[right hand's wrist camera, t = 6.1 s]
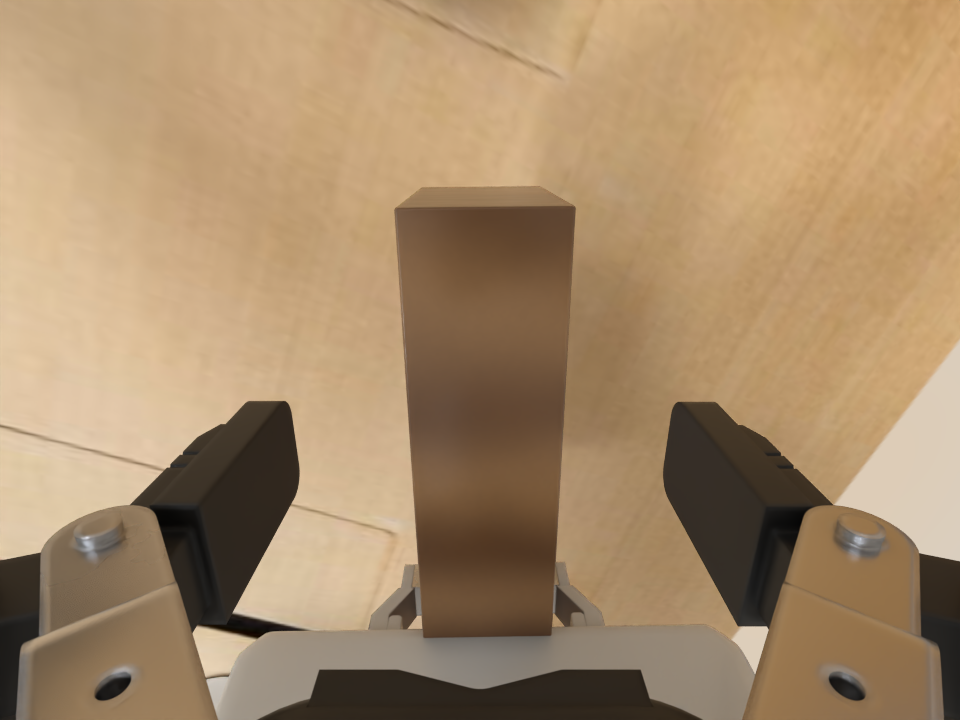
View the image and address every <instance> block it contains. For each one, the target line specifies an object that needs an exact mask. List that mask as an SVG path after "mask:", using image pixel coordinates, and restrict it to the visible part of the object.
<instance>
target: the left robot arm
mask: <svg viewBox="0 0 960 720" xmlns="http://www.w3.org/2000/svg"><path fill="white" fill-rule="evenodd" d="M553 613H555V615H556V616H557V617H558V618H559V620H560V621H561V622H562V623H563V624H564V626H565V627H552V635H551V636H512V637H454V638H423V629H408V627H409V626H410V625H411V623H412V622H413V621H414V619H415V618H416V616H420V615H422V612H421V598H420V583H419V568H418V564H415V565H405V567H404V573H403V579H402V585H401V588H398V589H397V590H396V591H395V592H394V593H393V594H392V595H391V596H390V597H389V598H388V599H387V600H386V601H385V602H384V603H383V604H382V605H381V606H380V607H379V608H378V609H377V610H376V611H375V612H374V613H373V614H372V615H371V620H370V624H369V629H368V630H340V631H277V632H269V633H266V634H264V635H263V636H261V637H260V638H259V639H257V640H256V641H255V642H253V643H252V644H251V645H249V646H248V647H247V648H246V649H244V650H243V651H242V652H241V653H240V654H239V655H238V657H237V659H236V661H235V663H234V665H233V667H232V670H231V672H230V675H229V677H216V678H210V679H206V681H207V684H208V688H209V691H210V694H211V698H212V701H213V704H214V708H215V711H216V714H217V718H218V720H257V719H259V718H261V717H263V716H265V715H267V714H269V713H272V712H274V711H276V710H278V709H280V708H283V707H285V706H288V705H291V704H294V703H296V702H299V701H303V700H306V699H310V698H311V694H312V691H313V688H314V685H315V682H316V678H317V675H318V672H319V669H398V670H402V671H406V672H410V673H414V674H418V675H422V676H426V677H430V678H434V679H438V680H442V681H446V682H450V683H454V684H458V685H461V686H465V687H469V688H475V689H485V688H491V687H495V686H499V685H502V684H506V683H510V682H514V681H518V680H522V679H526V678H530V677H534V676H538V675H542V674H546V673H550V672H554V671H558V670H562V669H641V672H642V675H643V678H644V682H645V685H646V688H647V691H648V694H649V698H650V699H654V700H657V701H661V702H664V703H666V704H669V705H672V706H675V707H677V708H680V709H682V710H684V711H686V712H688V713H691V714H693V715H695V716H697V717H699V718H701V719H703V720H742V718H743V714H744V711H745V708H746V704H747V701H748V698H749V694H750V691H751V688H752V684H753V681H754V678H755V674H754V672H753V670H752V668H751V666H750V664H749V662H748V660H747V659H746V657H745V655H744V653H743V652H742V650H741V649H740V648H739V646H738V645H737V644H736V643H735V642H733V641H732V640H730V639H729V638H728V637H726V636H725V635H723V634H722V633H720V632H719V631H717V630H716V629H714V628H712V627H710V626H708V625H704V624H690V625H638V626H605V624H604V620H603V617H602V613H601V611H600V610H599V609H598V608H597V607H596V606H594V605H593V604H592V603H591V602H590V601H589V600H588V599H587V598H586V597H585V596H584V595H583V594H581V593H580V592H579V591H578V590H577V589H576V588H575V587H574V586H573V585H570V583H569V579H568V574H567V570H566V565H565V563H564V562H556V564H555V582H554V600H553Z"/></svg>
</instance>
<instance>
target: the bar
mask: <svg viewBox="0 0 960 720" xmlns="http://www.w3.org/2000/svg"><path fill="white" fill-rule="evenodd" d="M575 209H576V208H575V206H573V205H571V204H570V203H568V202H566V201H564V200H563V199H561V198H559V197H558V196H556V195H554V194H552V193H551V192H549V191H547V190H545V189H544V188H542V187H540V186H522V187H426V188H421V189H419V190H418V191H417V192H416V193H414V194H413V195H412V196H410V197H409V198H408V199H407V200H405V201H404V202H403V203H401V204H400V205H399V206H398V207H396V208H395V210H394V211H395V225H396V240H397V255H398V270H399V285H400V300H401V315H402V330H403V344H404V359H405V374H406V389H407V404H408V419H409V434H410V449H411V464H412V478H413V493H414V508H415V523H416V538H417V553H418V568H419V583H420V598H421V612H422V627H423V638H454V637H512V636H551V635H552V618H553V600H554V582H555V564H556V547H557V529H558V511H559V493H560V476H561V458H562V440H563V422H564V404H565V387H566V369H567V351H568V333H569V316H570V298H571V280H572V262H573V244H574V227H575Z"/></svg>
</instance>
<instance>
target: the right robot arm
mask: <svg viewBox="0 0 960 720" xmlns="http://www.w3.org/2000/svg"><path fill="white" fill-rule="evenodd" d="M170 465H171V466H170V468H166V469H165V470H164V471H163V472H162V473H161V474H160V475H159V476H158V477H157V478H156V479H155V480H154V481H153V482H152V483H151V484H150V485H149V486H148V487H147V488H146V489H145V490H144V491H143V492H142V493H141V494H140V495H139V496H138V497H137V498H136V499H135V500H134V501H133V502H132V503H131V504H130V505H125V506H116V507H111V508H107V509H103V510H99V511H96V512H94V513H91V514H88V515H86V516H83V517H81V518H79V519H77V520H75V521H73V522H71V523H69V524H68V525H66V526H65V527H63V528H62V529H60V530H59V531H58V532H56V533H55V534H54V535H53V536H52V537H51V538H50V539H49V540H48V541H47V542H46V544H45V545H44V547H43V549H42V551H41V553H36V554H31V555H26V556H21V557H16V558H11V559H6V560H1V561H0V720H218V718H217V714H216V711H215V708H214V704H213V701H212V698H211V694H210V691H209V688H208V684H207V681H206V678H205V674H204V671H203V668H202V664H201V661H200V658H199V654H198V651H197V648H196V644H195V641H194V638H193V634H192V633H193V631H194V630H195V628H196V626H197V625H198V624H227V622H228V620H229V618H230V616H231V614H232V613H233V611H234V609H235V607H236V605H237V603H238V601H239V600H240V598H241V596H242V594H243V592H244V590H245V588H246V587H247V585H248V583H249V581H250V579H251V577H252V576H253V574H254V572H255V570H256V568H257V566H258V564H259V563H260V561H261V559H262V557H263V555H264V553H265V551H266V550H267V548H268V546H269V544H270V542H271V540H272V538H273V537H274V535H275V533H276V531H277V529H278V527H279V526H280V524H281V522H282V520H283V518H284V516H285V514H286V513H287V511H288V509H289V507H290V505H291V503H292V501H293V500H294V498H295V496H296V493H297V489H298V485H299V461H298V455H297V448H296V441H295V434H294V427H293V420H292V413H291V409H290V406H289V404H288V403H287V402H286V401H248V402H246V403H245V404H244V405H243V406H242V407H241V408H240V410H239V411H238V412H237V413H236V414H235V415H234V416H233V417H232V418H231V419H230V420H229V421H228V422H227V423H226V424H220V425H219V426H217V427H215V428H213V429H211V430H210V431H208V432H206V433H204V434H202V435H201V436H199V437H197V438H196V439H195V440H194V441H193V442H192V443H191V444H190V445H189V446H188V447H187V448H186V449H185V450H184V451H183V455H179V456H178V457H177V458H176V459H175V460H174V461H173V462H172V463H171V464H170ZM663 479H664V487H665V491H666V494H667V497H668V499H669V501H670V503H671V505H672V506H673V508H674V510H675V512H676V514H677V516H678V517H679V519H680V521H681V523H682V525H683V527H684V528H685V530H686V532H687V534H688V536H689V537H690V539H691V541H692V543H693V545H694V547H695V548H696V550H697V552H698V554H699V556H700V558H701V559H702V561H703V563H704V565H705V567H706V569H707V570H708V572H709V574H710V576H711V578H712V580H713V581H714V583H715V585H716V587H717V589H718V591H719V592H720V594H721V596H722V598H723V600H724V602H725V603H726V605H727V607H728V609H729V611H730V612H731V614H732V616H733V618H734V620H735V622H736V623H737V625H738V626H767V627H768V629H769V631H768V634H767V638H766V641H765V644H764V648H763V651H762V654H761V658H760V661H759V664H758V668H757V671H756V674H755V678H754V681H753V684H752V688H751V691H750V694H749V698H748V701H747V704H746V708H745V711H744V714H743V718H742V720H960V561H955V560H950V559H945V558H940V557H935V556H930V555H925V554H920V553H919V551H918V549H917V547H916V545H915V544H914V542H913V541H912V540H911V539H910V538H909V537H908V536H907V535H906V534H905V533H904V532H902V531H901V530H900V529H898V528H897V527H895V526H894V525H892V524H891V523H889V522H887V521H885V520H883V519H881V518H879V517H877V516H874V515H872V514H869V513H866V512H864V511H860V510H857V509H853V508H849V507H843V506H835V505H833V504H832V503H831V502H830V501H829V500H828V499H827V498H826V497H825V496H824V495H823V494H822V493H821V492H820V491H819V490H818V489H817V488H816V487H815V486H814V485H813V484H812V483H811V482H810V481H809V480H808V479H807V478H806V477H805V476H804V475H802V474H801V473H800V472H799V471H798V470H797V469H794V468H793V465H792V464H791V463H790V462H789V461H788V460H787V459H786V458H785V457H784V456H781V453H780V452H779V451H778V450H777V449H776V448H775V447H774V446H773V445H772V444H771V443H770V442H769V441H768V440H767V439H766V438H765V437H763V436H761V435H759V434H758V433H756V432H754V431H752V430H750V429H749V428H747V427H745V426H743V425H737V424H736V423H735V422H734V421H733V420H732V418H731V417H730V416H729V415H728V414H727V413H726V412H725V411H724V410H723V409H722V408H721V407H720V406H719V405H718V404H717V403H715V402H677V403H676V404H675V405H674V407H673V410H672V414H671V420H670V427H669V434H668V440H667V447H666V454H665V461H664V468H663ZM257 720H703V719H701V718H699V717H697V716H695V715H693V714H691V713H688V712H686V711H684V710H682V709H680V708H677V707H675V706H672V705H669V704H666V703H664V702H661V701H657V700H654V699H650V698H649V694H648V691H647V688H646V685H645V682H644V678H643V675H642V672H641V669H562V670H558V671H554V672H550V673H546V674H542V675H538V676H534V677H530V678H526V679H522V680H518V681H514V682H510V683H506V684H502V685H499V686H495V687H491V688H485V689H475V688H469V687H465V686H461V685H458V684H454V683H450V682H446V681H442V680H438V679H434V678H430V677H426V676H422V675H418V674H414V673H410V672H406V671H402V670H398V669H319V672H318V675H317V678H316V682H315V685H314V688H313V691H312V694H311V698H310V699H306V700H303V701H299V702H296V703H294V704H291V705H288V706H285V707H283V708H280V709H278V710H276V711H274V712H272V713H269V714H267V715H265V716H263V717H261V718H259V719H257Z"/></svg>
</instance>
